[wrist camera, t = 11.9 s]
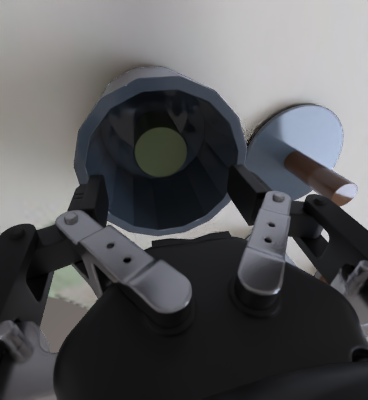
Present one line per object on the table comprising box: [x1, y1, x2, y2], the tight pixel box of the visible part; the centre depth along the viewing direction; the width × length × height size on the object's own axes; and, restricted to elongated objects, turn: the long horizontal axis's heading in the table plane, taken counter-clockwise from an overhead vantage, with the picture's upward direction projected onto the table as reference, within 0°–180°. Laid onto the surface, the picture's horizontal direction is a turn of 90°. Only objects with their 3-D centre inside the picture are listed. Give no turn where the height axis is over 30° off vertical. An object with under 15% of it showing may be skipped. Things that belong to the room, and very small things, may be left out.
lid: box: [245, 104, 357, 206], centre depth 25 cm, size 13×13×9 cm
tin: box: [134, 111, 187, 177], centre depth 21 cm, size 4×4×6 cm
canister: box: [74, 66, 247, 236], centre depth 20 cm, size 12×12×10 cm
